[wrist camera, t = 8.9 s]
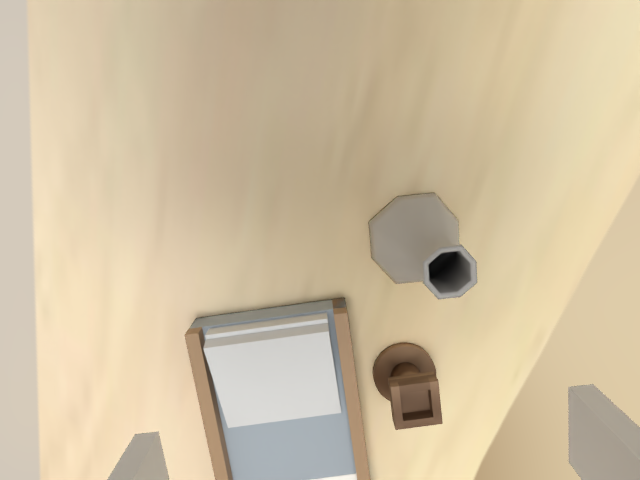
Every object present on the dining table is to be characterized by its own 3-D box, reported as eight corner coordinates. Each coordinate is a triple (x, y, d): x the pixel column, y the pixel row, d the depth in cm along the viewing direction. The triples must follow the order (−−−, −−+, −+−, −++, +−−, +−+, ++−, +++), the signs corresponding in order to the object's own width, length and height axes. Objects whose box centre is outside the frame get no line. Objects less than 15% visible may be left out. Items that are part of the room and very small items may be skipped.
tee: (369, 347, 38) (378, 378, 33) (430, 339, 38) (448, 369, 33) (376, 402, 39) (386, 441, 34) (436, 394, 39) (454, 432, 34)
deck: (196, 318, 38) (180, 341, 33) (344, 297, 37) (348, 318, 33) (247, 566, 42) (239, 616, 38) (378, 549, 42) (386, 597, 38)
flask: (473, 260, 37) (531, 302, 27) (388, 297, 37) (415, 351, 28) (440, 176, 36) (487, 188, 26) (353, 215, 36) (367, 242, 26)
